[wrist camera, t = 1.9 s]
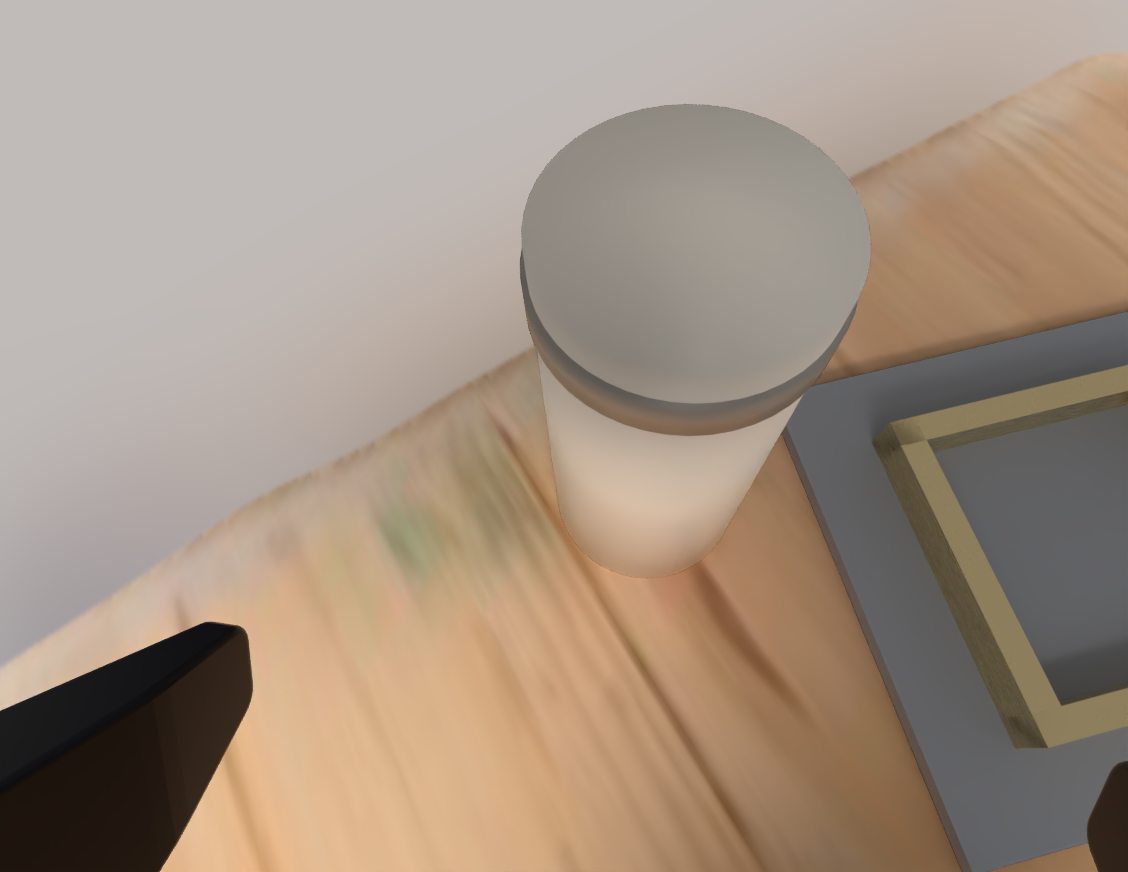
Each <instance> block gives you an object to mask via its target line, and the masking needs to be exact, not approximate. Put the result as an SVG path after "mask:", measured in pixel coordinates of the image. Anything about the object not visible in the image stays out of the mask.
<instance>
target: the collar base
mask: <svg viewBox="0 0 1128 872" xmlns="http://www.w3.org/2000/svg"><path fill="white" fill-rule="evenodd" d="M782 435H783V437H784V440H785V442H786V445H787V447H788V450H789V452H790V454H791V457H792V459H793V462H794V464H795V467H796V469H797V471H798V474H799V476H800V479H801V481H802V484H803V486H804V488H805V491H806V493H807V496H808V498H809V501H810V503H811V506H812V508H813V510H814V513H815V515H816V518H817V520H818V523H819V525H820V527H821V530H822V532H823V535H824V537H825V540H826V542H827V544H828V547H829V549H830V552H831V554H832V557H833V559H834V561H835V564H836V566H837V569H838V571H839V574H840V576H841V578H842V581H843V583H844V586H845V588H846V591H847V593H848V595H849V598H850V600H851V603H852V605H853V608H854V610H855V612H856V615H857V617H858V620H859V622H860V625H861V627H862V629H863V632H864V634H865V637H866V639H867V642H868V644H869V646H870V649H871V651H872V654H873V656H874V659H875V661H876V663H877V666H878V668H879V671H880V673H881V676H882V678H883V680H884V683H885V685H886V688H887V690H888V693H889V695H890V697H891V700H892V702H893V705H894V707H895V710H896V712H897V715H898V717H899V719H900V722H901V724H902V727H903V729H904V732H905V734H906V736H907V739H908V741H909V744H910V746H911V749H912V751H913V753H914V756H915V758H916V761H917V763H918V766H919V768H920V770H921V773H922V775H923V778H924V780H925V783H926V785H927V787H928V790H929V792H930V795H931V797H932V800H933V802H934V804H935V807H936V809H937V812H938V814H939V817H940V819H941V821H942V824H943V826H944V829H945V831H946V834H947V836H948V838H949V841H950V843H951V846H952V848H953V851H954V853H955V855H956V858H957V860H958V863H959V865H960V868H961V870H962V872H988V871H991V870H995V869H998V868H1002V867H1005V866H1008V865H1012V864H1015V863H1019V862H1022V861H1026V860H1029V859H1033V858H1036V857H1040V856H1043V855H1047V854H1050V853H1054V852H1057V851H1061V850H1064V849H1068V848H1071V847H1075V846H1078V845H1081V844H1085V843H1088V839H1087V824H1088V819H1089V816H1090V814H1091V812H1092V810H1093V808H1094V806H1095V803H1096V801H1097V799H1098V797H1099V795H1100V793H1101V790H1102V788H1103V786H1104V784H1105V782H1106V780H1107V778H1108V775H1109V773H1110V771H1111V770H1112V768H1113V767H1114V766H1115V765H1116V764H1118V763H1119V762H1123V761H1128V312H1124V313H1119V314H1115V315H1111V316H1107V317H1102V318H1098V319H1094V320H1090V321H1086V322H1081V323H1077V324H1073V325H1069V326H1064V327H1060V328H1056V329H1052V330H1047V331H1043V332H1039V333H1035V334H1031V335H1026V336H1022V337H1018V338H1014V339H1009V340H1005V341H1001V342H997V343H993V344H988V345H984V346H980V347H976V348H971V349H967V350H963V351H959V352H955V353H950V354H946V355H942V356H938V357H933V358H929V359H925V360H921V361H917V362H912V363H908V364H904V365H900V366H895V367H891V368H887V369H883V370H879V371H874V372H870V373H866V374H862V375H857V376H853V377H849V378H845V379H841V380H836V381H832V382H828V383H824V384H819V385H815V386H811V387H810V388H809V389H808V391H807V392H806V393H804V394H803V396H802V398H801V399H800V401H799V403H798V405H797V406H796V408H795V410H794V412H793V413H792V415H791V417H790V419H789V420H788V422H787V424H786V426H785V427H784V429H783V431H782Z"/></svg>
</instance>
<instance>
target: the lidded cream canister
mask: <svg viewBox="0 0 1128 872" xmlns="http://www.w3.org/2000/svg"><path fill="white" fill-rule="evenodd" d="M870 257H871V238H870V229H869V224H868V220H867V217H866V213H865V209H864V207H863V205H862V203H861V200H860V198H859V196H858V194H857V192H856V190H855V189H854V187H853V186H852V184H851V182H850V181H849V179H848V178H847V176H846V175H845V174H844V173H843V171H842V170H841V169H840V168H839V167H838V166H837V165H836V164H835V162H834V161H833V160H832V159H831V158H830V157H829V156H827V155H826V154H825V153H824V152H823V151H822V150H821V149H820V148H818V147H817V146H816V145H814V144H813V143H811V142H810V141H809V140H807V139H806V138H805V137H803V136H801V135H800V134H798V133H796V132H794V131H793V130H791V129H789V128H787V127H785V126H783V125H781V124H778V123H776V122H774V121H772V120H769V119H767V118H764V117H761V116H758V115H755V114H752V113H748V112H745V111H740V110H736V109H731V108H727V107H719V106H710V105H692V104H691V105H690V104H683V105H666V106H659V107H653V108H646V109H642V110H638V111H634V112H630V113H627V114H623V115H621V116H618V117H615V118H613V119H610V120H607V121H605V122H603V123H601V124H599V125H597V126H595V127H593V128H591V129H589V130H588V131H586V132H585V133H583V134H582V135H580V136H578V137H577V138H575V139H574V140H573V141H571V142H570V143H569V144H568V145H566V146H565V147H564V148H563V149H562V150H560V152H558V154H557V155H556V156H555V157H554V158H553V159H552V160H551V161H550V162H549V163H548V164H547V166H546V167H545V169H544V170H543V172H542V173H541V174H540V176H539V177H538V179H537V181H536V182H535V184H534V186H533V189H532V190H531V192H530V194H529V197H528V201H527V204H526V207H525V210H524V215H523V222H522V251H521V257H520V278H521V285H522V291H523V298H524V304H525V310H526V316H527V321H528V327H529V331H530V334H531V336H532V339H533V342H534V345H535V347H536V350H537V357H538V364H539V371H540V378H541V385H542V392H543V399H544V406H545V413H546V421H547V428H548V435H549V442H550V449H551V456H552V463H553V470H554V477H555V484H556V491H557V498H558V505H559V510H560V514H561V517H562V521H563V523H564V525H565V528H566V530H567V532H568V534H569V535H570V537H571V538H572V540H573V541H574V543H575V544H576V545H577V546H578V547H579V548H580V549H581V551H582V552H584V553H585V554H586V555H587V556H588V557H589V558H590V559H592V560H593V561H595V562H596V563H598V564H599V565H601V566H603V567H605V568H607V569H609V570H611V571H613V572H616V573H619V574H622V575H626V576H631V577H638V578H658V577H664V576H669V575H673V574H676V573H679V572H682V571H684V570H686V569H688V568H690V567H692V566H693V565H695V564H696V563H698V562H699V561H701V560H702V559H703V558H704V557H705V556H707V555H708V554H709V553H710V552H711V551H712V549H713V548H714V547H715V546H716V545H717V543H718V542H719V540H720V538H721V537H722V535H723V534H724V532H725V530H726V528H727V527H728V525H729V523H730V521H731V520H732V518H733V516H734V514H735V513H736V511H737V509H738V507H739V506H740V504H741V502H742V500H743V499H744V497H745V495H746V494H747V492H748V490H749V488H750V487H751V485H752V483H753V481H754V480H755V478H756V476H757V474H758V473H759V471H760V469H761V467H762V466H763V464H764V462H765V460H766V459H767V457H768V455H769V453H770V452H771V450H772V448H773V446H774V445H775V443H776V441H777V440H778V438H779V436H780V434H781V433H782V431H783V429H784V427H785V426H786V424H787V422H788V420H789V419H790V417H791V415H792V413H793V412H794V410H795V408H796V406H797V405H798V403H799V401H800V399H801V398H802V396H803V394H804V393H806V392H807V391H808V389H809V388H810V387H811V386H812V385H813V384H814V383H815V381H816V380H817V379H818V378H819V377H820V375H821V373H822V372H823V370H824V369H825V367H826V366H827V364H828V362H829V361H830V359H831V357H832V356H833V354H834V352H835V351H836V349H837V347H838V346H839V344H840V342H841V340H842V339H843V337H844V335H845V334H846V332H847V330H848V328H849V326H850V323H851V321H852V319H853V316H854V314H855V310H856V306H857V302H858V298H859V296H860V294H861V291H862V289H863V287H864V284H865V282H866V278H867V274H868V270H869V266H870Z"/></svg>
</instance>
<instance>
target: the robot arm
mask: <svg viewBox="0 0 1128 872" xmlns="http://www.w3.org/2000/svg"><path fill="white" fill-rule="evenodd" d="M252 692H253V680H252V670H251V660H250V650H249V640H248V635H247V633H246V631H245V630H244V629H243V628H242V627H240V626H238V625H231V624H225V623H218V622H204V623H202V624H199V625H197V626H195V627H192V628H190V629H188V630H185V631H183V632H181V633H178V634H176V635H174V636H172V637H169V638H167V639H165V640H162V641H160V642H158V643H155V644H153V645H151V646H149V647H146V648H144V649H142V650H139V651H137V652H135V653H132V654H130V655H128V656H126V657H123V658H121V659H119V660H116V661H114V662H112V663H109V664H107V665H105V666H102V667H100V668H98V669H96V670H93V671H91V672H89V673H86V674H84V675H82V676H79V677H77V678H75V679H73V680H70V681H68V682H66V683H63V684H61V685H59V686H56V687H54V688H52V689H49V690H47V691H45V692H43V693H40V694H38V695H36V696H33V697H31V698H29V699H26V700H24V701H22V702H20V703H17V704H15V705H13V706H10V707H8V708H6V709H3V710H1V711H0V872H160V870H161V869H162V867H163V865H164V864H165V862H166V861H167V859H168V857H169V856H170V854H171V852H172V851H173V849H174V848H175V846H176V844H177V843H178V841H179V839H180V837H181V835H182V834H183V832H184V830H185V828H186V826H187V825H188V823H189V821H190V819H191V817H192V815H193V813H194V811H195V810H196V808H197V806H198V804H199V802H200V800H201V798H202V796H203V794H204V792H205V790H206V788H207V787H208V785H209V783H210V781H211V779H212V777H213V775H214V773H215V771H216V769H217V767H218V765H219V764H220V762H221V760H222V758H223V756H224V754H225V752H226V750H227V748H228V746H229V744H230V742H231V740H232V739H233V737H234V735H235V733H236V731H237V729H238V727H239V725H240V723H241V721H242V719H243V717H244V716H245V714H246V712H247V709H248V707H249V705H250V702H251V698H252ZM1087 839H1088V844H1089V848H1090V851H1091V854H1092V856H1093V859H1094V862H1095V864H1096V867H1097V869H1098V872H1128V761H1123V762H1119V763H1118V764H1116V765H1115V766H1114V767H1113V768H1112V770H1111V771H1110V773H1109V775H1108V778H1107V780H1106V782H1105V784H1104V786H1103V788H1102V790H1101V793H1100V795H1099V797H1098V799H1097V801H1096V803H1095V806H1094V808H1093V810H1092V812H1091V814H1090V816H1089V819H1088V824H1087Z"/></svg>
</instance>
